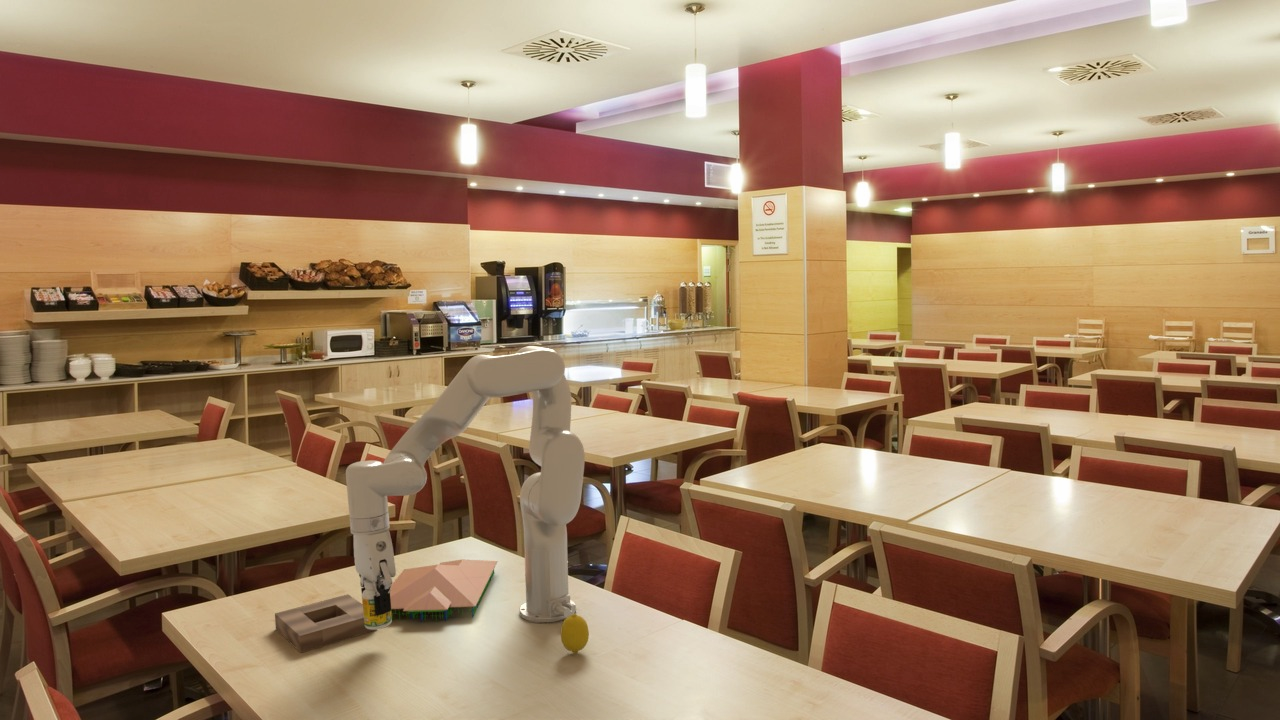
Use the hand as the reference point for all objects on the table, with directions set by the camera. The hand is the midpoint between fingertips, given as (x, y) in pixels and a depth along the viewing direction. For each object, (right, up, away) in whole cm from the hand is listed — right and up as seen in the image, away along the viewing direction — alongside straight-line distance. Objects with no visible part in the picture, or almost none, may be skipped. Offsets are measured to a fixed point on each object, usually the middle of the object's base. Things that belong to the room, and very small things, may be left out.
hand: (376, 608), depth 163 cm
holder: (-14, -8, +10) cm, 19 cm away
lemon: (+41, -8, -5) cm, 42 cm away
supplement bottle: (0, -4, 0) cm, 4 cm away
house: (+6, -6, +27) cm, 29 cm away
